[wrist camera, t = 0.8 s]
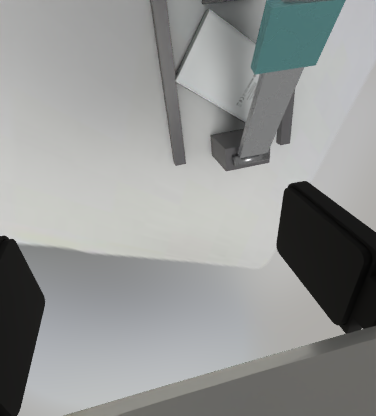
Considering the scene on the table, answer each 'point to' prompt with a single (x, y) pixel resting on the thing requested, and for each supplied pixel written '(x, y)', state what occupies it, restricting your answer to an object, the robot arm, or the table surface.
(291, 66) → the rectangular panel
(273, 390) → the robot arm
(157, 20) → the socket frame
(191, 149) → the table surface
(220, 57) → the external hard drive
